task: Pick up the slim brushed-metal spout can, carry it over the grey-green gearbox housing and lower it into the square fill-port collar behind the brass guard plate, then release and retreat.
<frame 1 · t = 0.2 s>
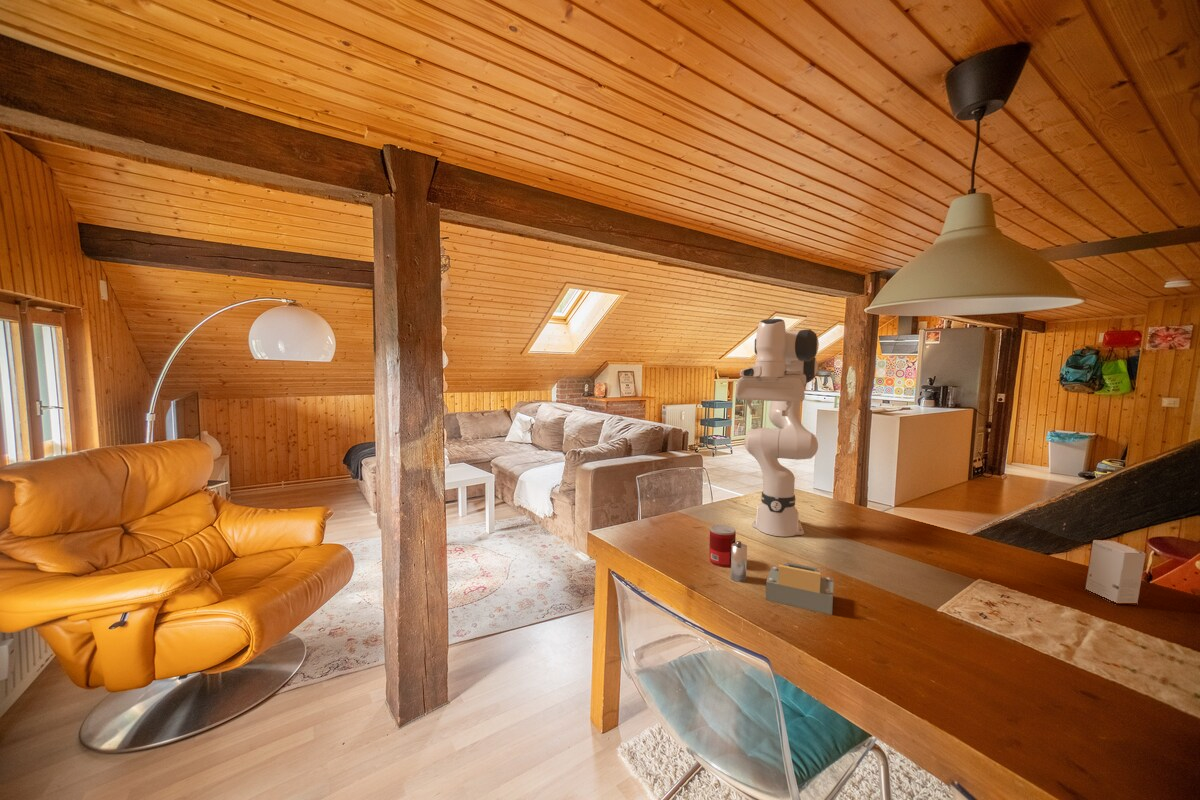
hand: (768, 415, 144), 47 cm above the table, fingers open, 8 cm apart
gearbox: (799, 598, 124), on the table
canned food: (721, 562, 147), on the table
skincare box: (1111, 598, 125), on the table
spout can: (738, 578, 136), on the table
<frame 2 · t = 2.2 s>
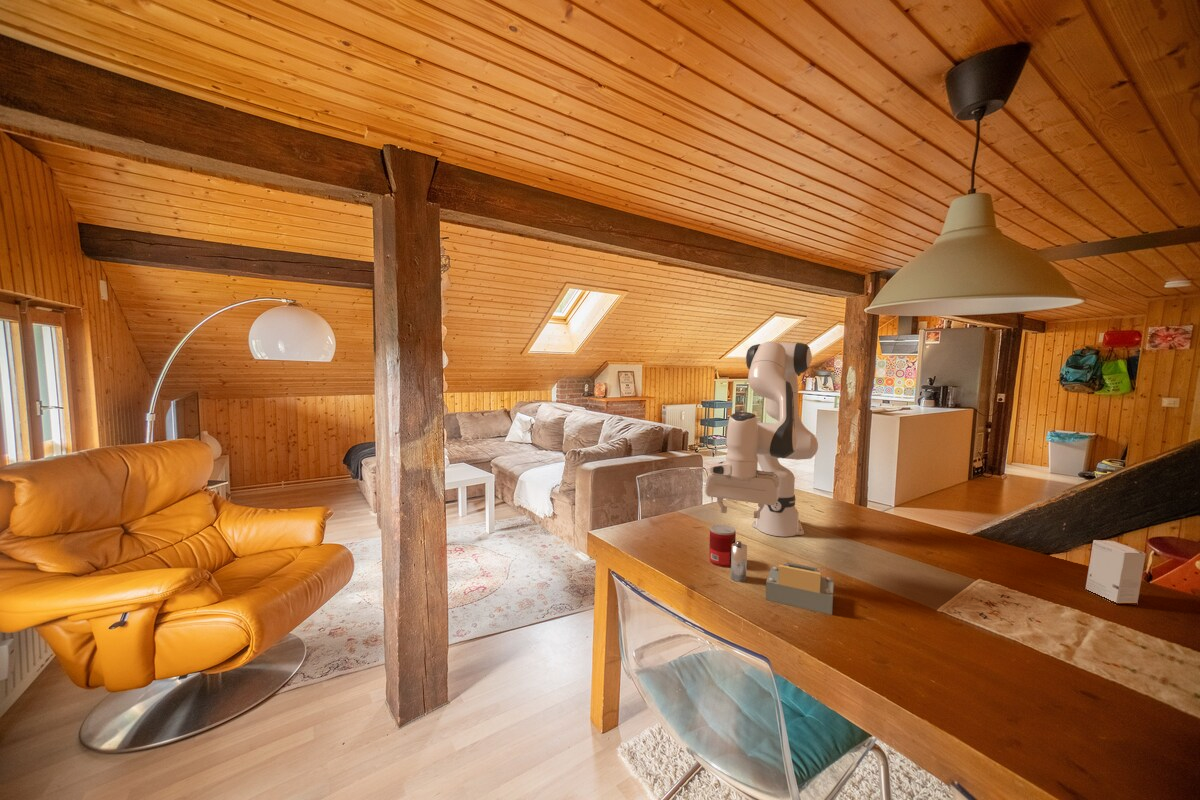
hand: (739, 515, 134), 19 cm above the table, fingers open, 8 cm apart
nothing on the table moved.
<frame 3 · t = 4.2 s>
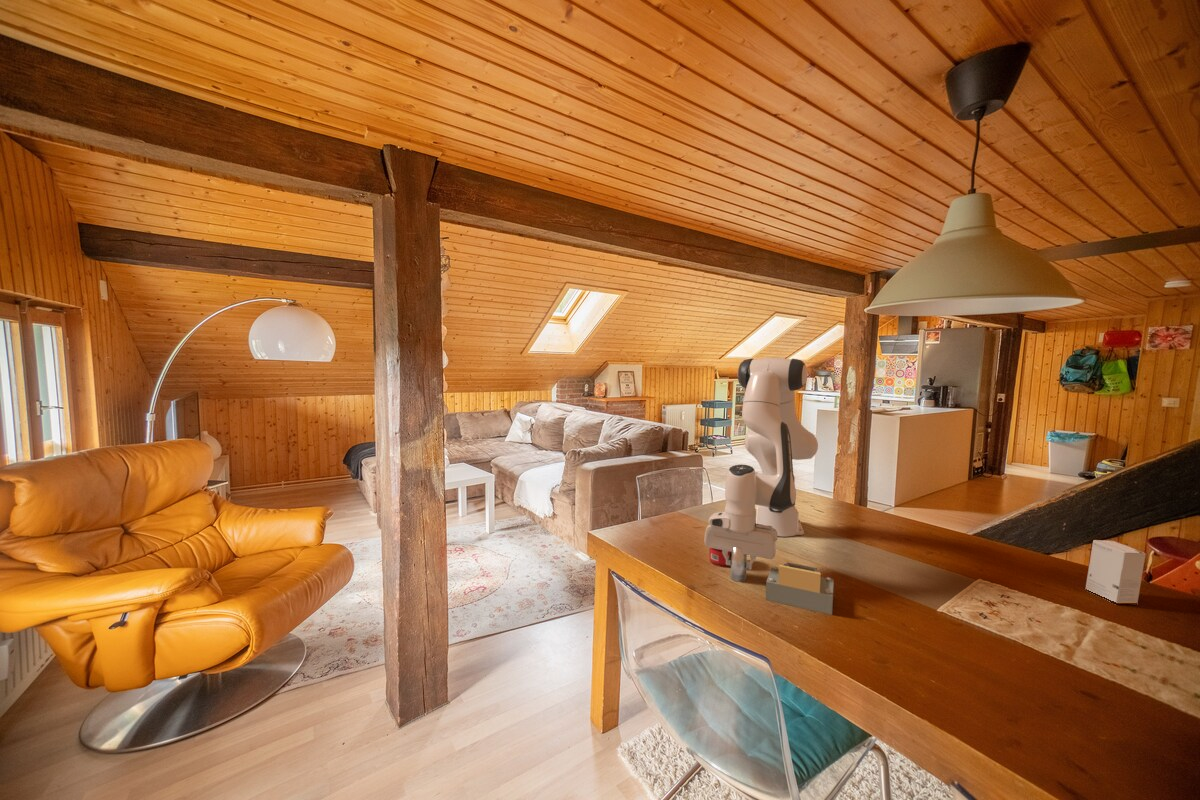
hand: (738, 566, 135), 4 cm above the table, fingers closed on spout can, 4 cm apart
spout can: (738, 578, 136), on the table, touching gripper
everything else where it was.
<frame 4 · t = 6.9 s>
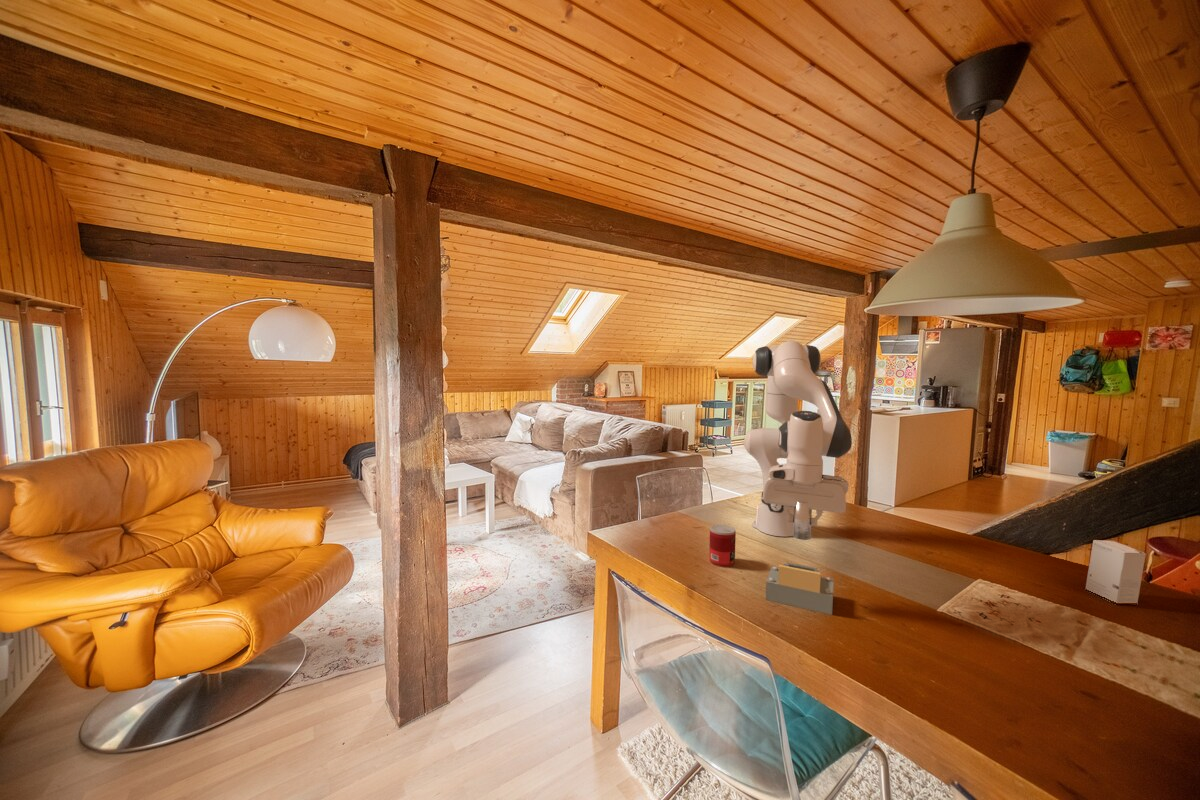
hand: (802, 523, 123), 21 cm above the table, fingers closed on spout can, 4 cm apart
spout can: (801, 536, 123), point 17 cm above the table, touching gripper
everything else where it was.
when the fingers open (10 cm above the table, at t = 9.6 s): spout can drops 1 cm, resting on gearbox.
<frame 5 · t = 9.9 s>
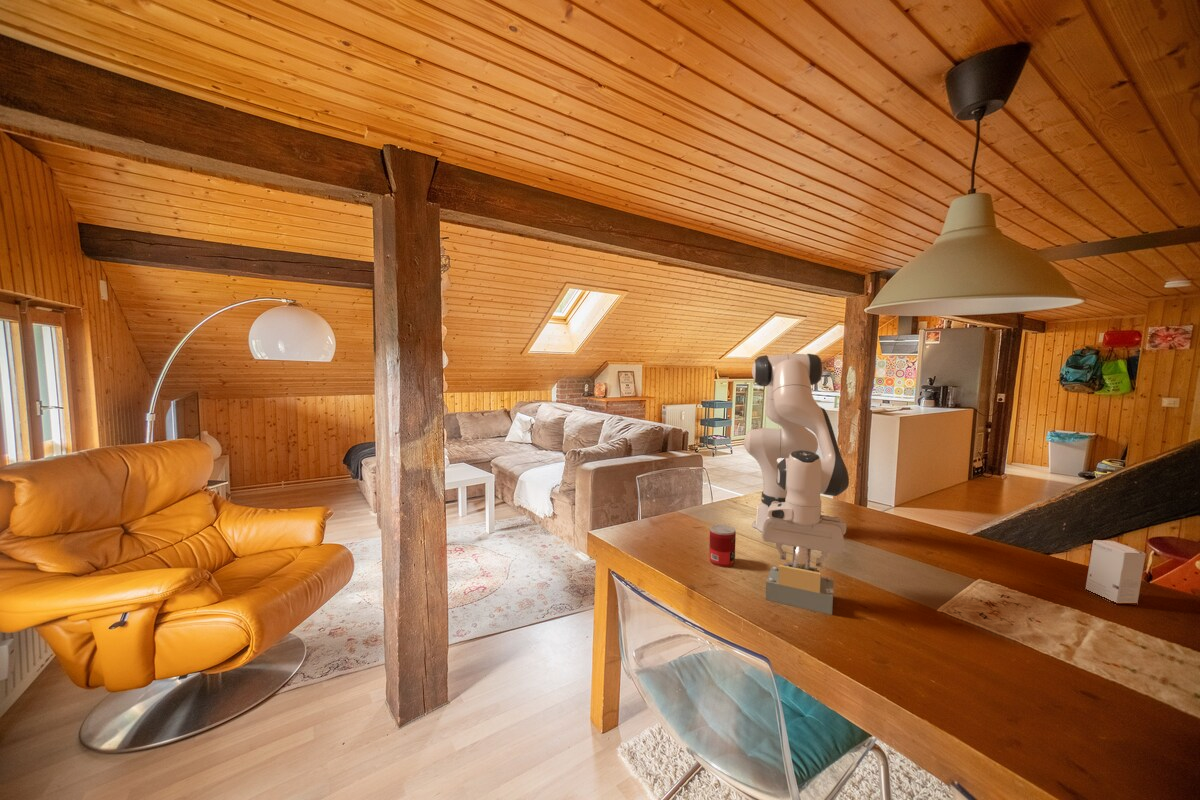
hand: (800, 562, 123), 10 cm above the table, fingers open, 8 cm apart
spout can: (800, 580, 124), point 5 cm above the table, touching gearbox
everything else where it was.
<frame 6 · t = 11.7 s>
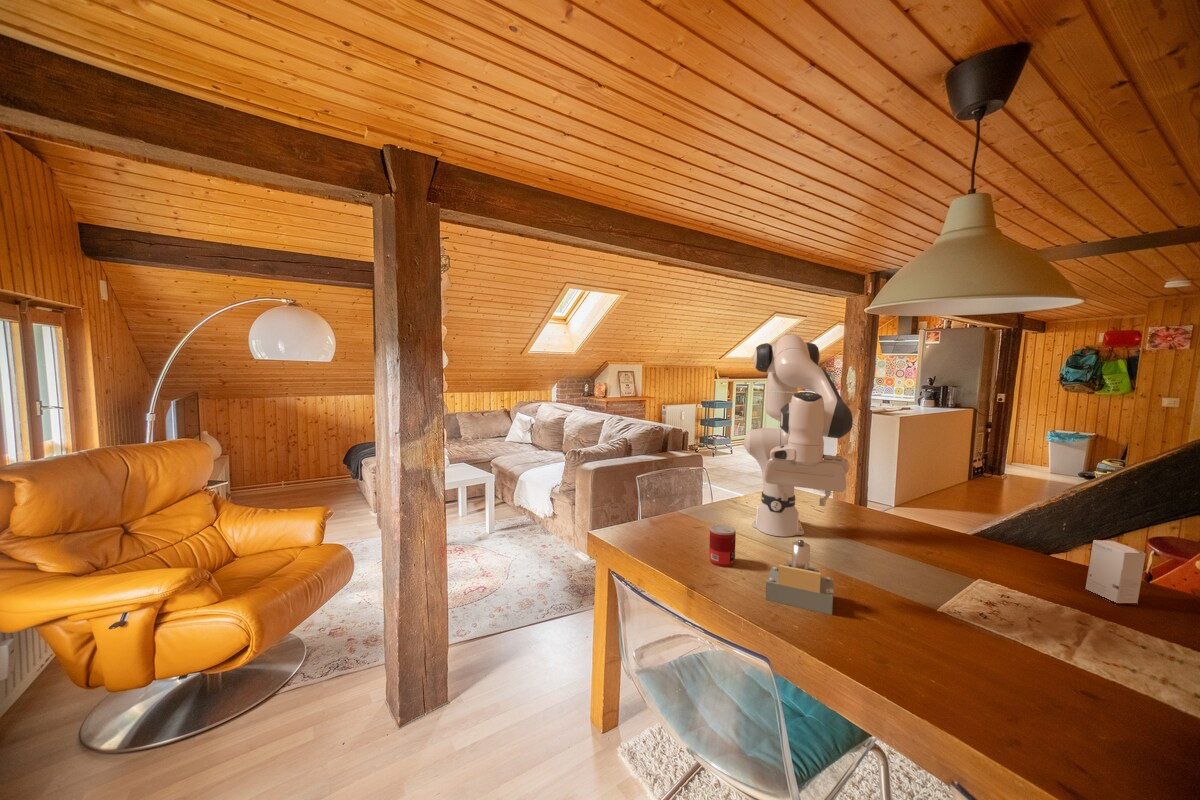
hand: (803, 503, 124), 26 cm above the table, fingers open, 8 cm apart
nothing on the table moved.
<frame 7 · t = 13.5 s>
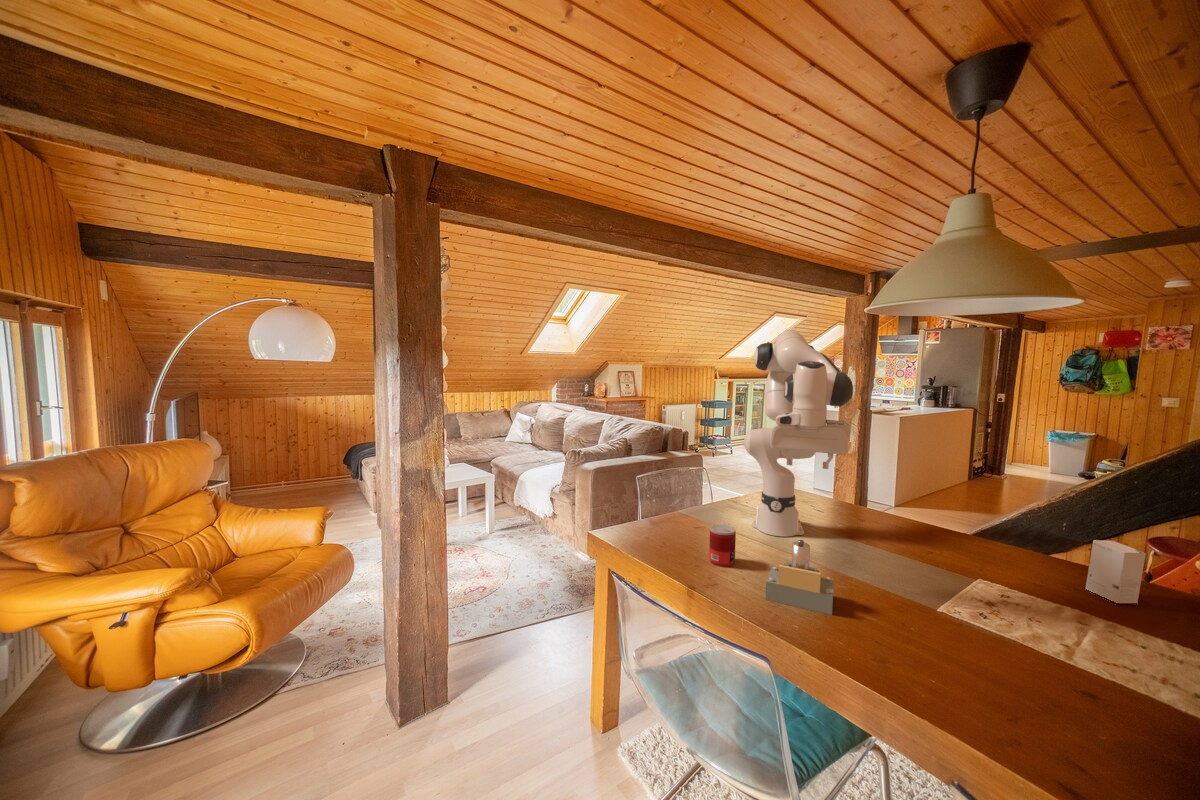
hand: (807, 466, 131), 34 cm above the table, fingers open, 8 cm apart
nothing on the table moved.
at the end: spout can 0.0 cm off-centre on the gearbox, point 5.0 cm above the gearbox's base; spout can tilted 1°; the gripper is holding nothing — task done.
